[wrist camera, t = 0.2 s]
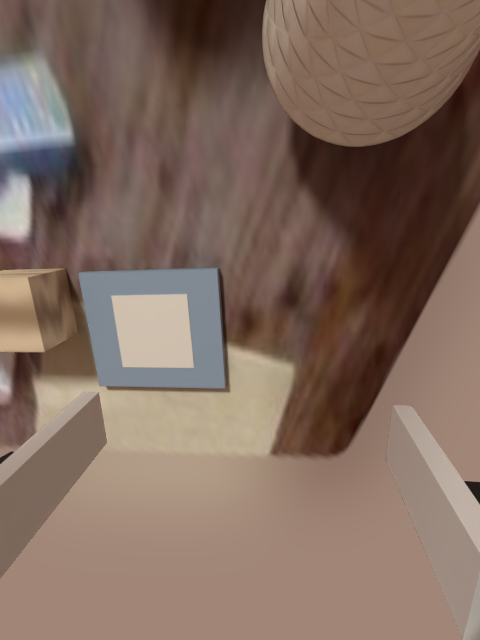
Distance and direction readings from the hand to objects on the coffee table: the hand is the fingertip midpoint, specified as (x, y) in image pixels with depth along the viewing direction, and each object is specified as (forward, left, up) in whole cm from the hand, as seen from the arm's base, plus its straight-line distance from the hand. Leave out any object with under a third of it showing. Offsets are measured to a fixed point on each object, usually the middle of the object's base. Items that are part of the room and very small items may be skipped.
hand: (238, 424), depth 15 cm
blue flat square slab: (+5, -15, -28) cm, 32 cm away
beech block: (+1, -31, -28) cm, 42 cm away
